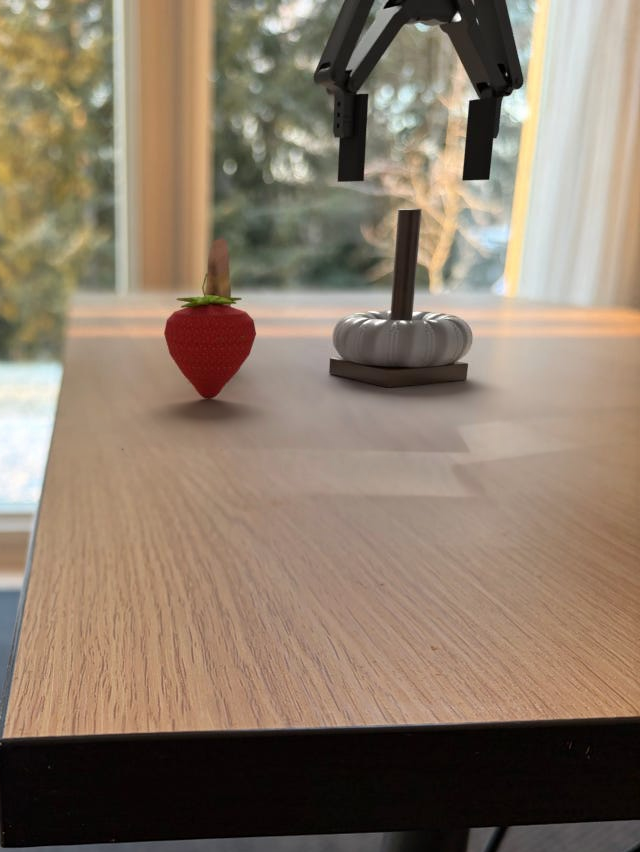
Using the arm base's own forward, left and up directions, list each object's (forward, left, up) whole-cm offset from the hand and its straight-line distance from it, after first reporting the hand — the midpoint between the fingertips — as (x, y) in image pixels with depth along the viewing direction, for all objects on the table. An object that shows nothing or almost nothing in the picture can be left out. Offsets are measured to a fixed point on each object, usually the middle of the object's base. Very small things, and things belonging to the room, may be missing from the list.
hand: (414, 181), depth 92 cm
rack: (0, 0, -17) cm, 17 cm away
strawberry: (+21, +2, -17) cm, 27 cm away
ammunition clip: (+13, -11, -17) cm, 24 cm away
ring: (0, 0, -13) cm, 13 cm away
